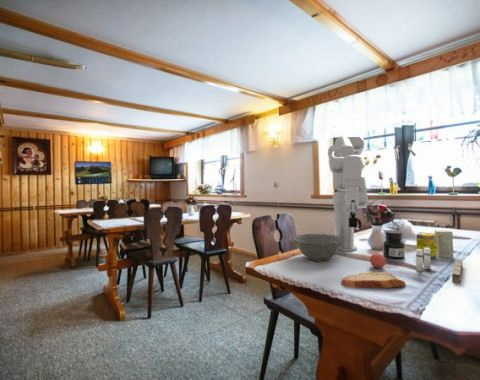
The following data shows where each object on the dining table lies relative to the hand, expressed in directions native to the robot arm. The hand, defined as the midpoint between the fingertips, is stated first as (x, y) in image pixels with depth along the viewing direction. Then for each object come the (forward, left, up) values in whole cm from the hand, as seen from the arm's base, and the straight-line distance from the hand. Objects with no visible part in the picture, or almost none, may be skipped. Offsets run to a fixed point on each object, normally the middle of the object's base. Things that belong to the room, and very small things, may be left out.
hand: (352, 225), depth 117 cm
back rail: (+37, 0, -17) cm, 41 cm away
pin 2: (+28, +4, -17) cm, 33 cm away
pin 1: (+24, 0, -17) cm, 30 cm away
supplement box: (+32, +23, -18) cm, 44 cm away
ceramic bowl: (-16, +7, -18) cm, 25 cm away
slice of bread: (+6, -20, -18) cm, 28 cm away
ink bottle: (+18, +20, -18) cm, 32 cm away
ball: (+9, 0, -14) cm, 17 cm away
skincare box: (+40, +27, -18) cm, 52 cm away
